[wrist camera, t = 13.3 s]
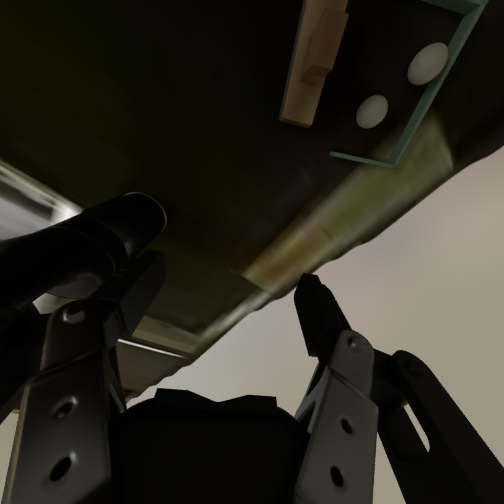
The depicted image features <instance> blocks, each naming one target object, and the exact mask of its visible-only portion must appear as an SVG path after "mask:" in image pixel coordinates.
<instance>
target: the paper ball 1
mask: <svg viewBox="0 0 504 504" xmlns="http://www.w3.org/2000/svg"><path fill="white" fill-rule="evenodd" d="M387 109H388V103H387V100H386V99H385V98H384V97H383V96H380V95H374V96H371V97H369V98H367V99H366V100H365V101H364V102H363V103H362V104H361V105H360V107H359V109H358V111H357V115H356V120H357V123H358V125H359V126H360V127H362V128H372V127H374V126H376V125H377V124H379V123H380V122H381V121H382V120H383V118H384V117H385V115H386V113H387Z"/></svg>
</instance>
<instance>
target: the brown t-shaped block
mask: <svg viewBox="0 0 504 504" xmlns="http://www.w3.org/2000/svg"><path fill="white" fill-rule="evenodd" d="M347 3H348V0H303V4H302V9H301V13H300V18H299V23H298V28H297V32H296V37H295V42H294V47H293V51H292V56H291V61H290V66H289V70H288V75H287V80H286V85H285V89H284V94H283V99H282V104H281V108H280V113H279V118H278V122H281V123H286V124H290V125H294V126H299V127H303V128H309V127H310V125H312V122H313V118H314V115H315V112H316V108H317V105H318V101H319V98H320V95H321V91H322V88H323V84H324V81H325V78H326V75H327V74H328V73H329V72H330V71H331V70H332V69H333V65H334V62H335V59H336V55H337V52H338V49H339V46H340V42H341V39H342V36H343V32H344V29H345V26H346V22H347V19H348V16H349V14H347V13H345V9H346V6H347Z"/></svg>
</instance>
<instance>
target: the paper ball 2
mask: <svg viewBox="0 0 504 504" xmlns="http://www.w3.org/2000/svg"><path fill="white" fill-rule="evenodd" d="M447 59H448V48H447V46H446V45H445V44H443V43H433V44H430V45H428V46H426V47H425V48H423V49H422V50H421V51H420V52H419V53H418V54H417V55H416V56H415V57H414V59H413V60H412V62H411V64H410V66H409V69H408V80H409V81H410V82H411V83H412V84H414V85H421V84H425V83H427V82H429V81H430V80H432V79H433V78H435V77H436V76H437V75H438V74H439V73H440V71H441V70H442V69H443V67H444V66H445V64H446V62H447Z"/></svg>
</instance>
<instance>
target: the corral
mask: <svg viewBox="0 0 504 504" xmlns="http://www.w3.org/2000/svg"><path fill="white" fill-rule="evenodd" d="M421 1H424V2H427V3H430V4H433V5H436V6H439V7H442V8H445V9H449V10H452V11H455V12H458V13H461V14H464V17H463V19H462V21H461V23H460V24H459V26H458V28H457V30H456V32H455V34H454V36H453V38H452V40H451V42H450V44H449V45H448V47H447V48H448V59H447V62H446V64H445V66H444V67H443V69H442V70H441V71H440V73H439V74H438V75H437V76H436V77H435V78H433V79H432V80H430V82H429V84H428V86H427V88H426V89H425V91H424V93H423V95H422V97H421V99H420V101H419V103H418V105H417V107H416V109H415V111H414V112H413V114H412V116H411V118H410V120H409V122H408V124H407V126H406V128H405V130H404V132H403V133H402V135H401V137H400V139H399V141H398V143H397V145H396V147H395V149H394V151H393V153H392V155H391V156H390V158H389V160H388V162H387V163H383V162H378V161H374V160H369V159H365V158H360V157H355V156H351V155H346V154H342V153H337V152H330V156H335V157H339V158H344V159H349V160H353V161H358V162H362V163H367V164H371V165H376V166H381V167H385V168H390V169H395V168H396V166H397V165H398V163H399V161H400V159H401V157H402V155H403V154H404V152H405V150H406V148H407V146H408V145H409V143H410V141H411V139H412V137H413V136H414V134H415V132H416V130H417V128H418V127H419V125H420V123H421V121H422V119H423V117H424V116H425V114H426V112H427V110H428V108H429V107H430V105H431V103H432V101H433V99H434V98H435V96H436V94H437V92H438V90H439V89H440V87H441V85H442V83H443V81H444V79H445V78H446V76H447V74H448V72H449V70H450V69H451V67H452V65H453V63H454V61H455V60H456V58H457V56H458V54H459V52H460V50H461V49H462V47H463V45H464V43H465V41H466V40H467V38H468V36H469V34H470V32H471V31H472V29H473V27H474V25H475V23H476V22H477V20H478V18H479V16H480V14H481V12H482V11H483V9H484V7H485V5H486V3H487V2H488V0H421Z"/></svg>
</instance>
